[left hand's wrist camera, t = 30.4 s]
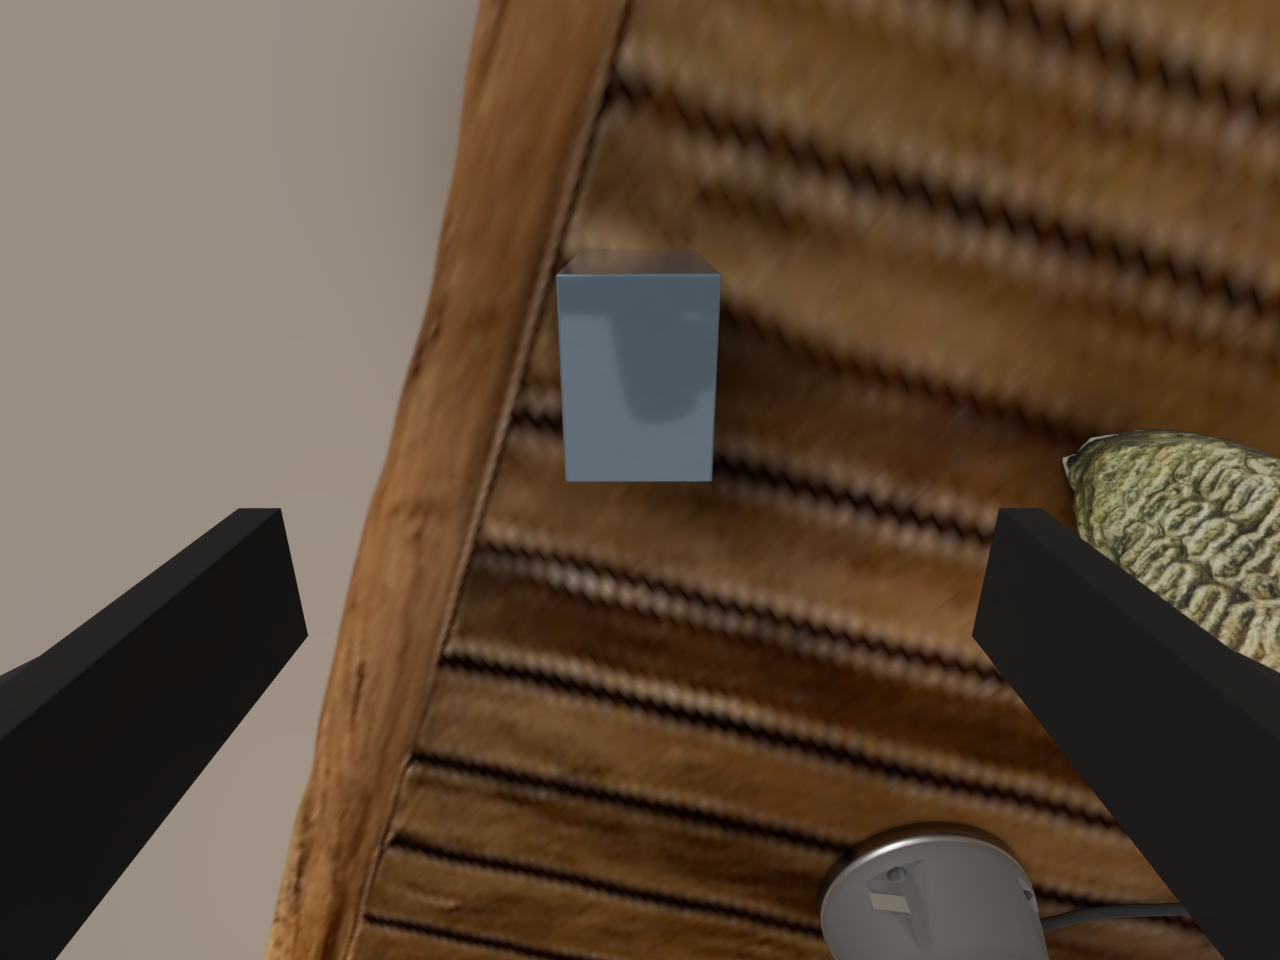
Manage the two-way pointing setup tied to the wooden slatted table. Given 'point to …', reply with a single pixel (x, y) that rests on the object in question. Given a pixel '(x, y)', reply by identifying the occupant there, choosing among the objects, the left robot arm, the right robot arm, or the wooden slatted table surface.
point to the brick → (638, 365)
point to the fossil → (1189, 527)
